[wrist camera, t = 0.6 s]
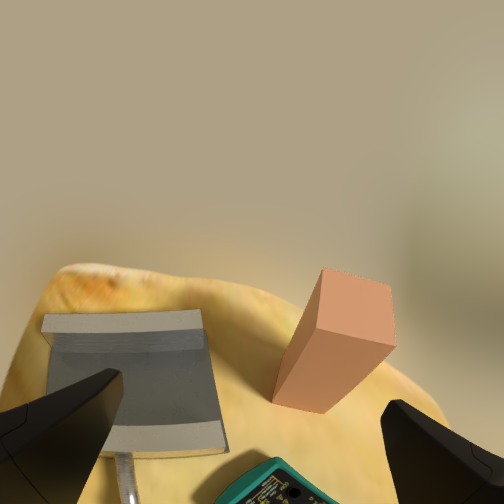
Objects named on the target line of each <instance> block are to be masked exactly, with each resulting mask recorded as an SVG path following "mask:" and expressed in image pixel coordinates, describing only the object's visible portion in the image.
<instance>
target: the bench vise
mask: <svg viewBox="0 0 504 504" xmlns="http://www.w3.org/2000/svg"><path fill="white" fill-rule="evenodd" d="M41 333H42V334H43V336H44V337H45V339H46V340H47V341H48V343H49V344H50V345H51V347H52V351H51V358H50V365H49V373H48V382H47V393H46V395H48V394H50V393H53V392H55V391H57V390H60V389H62V388H64V387H67V386H69V385H71V384H74V383H76V382H78V381H80V380H82V379H85V378H87V377H89V376H91V375H94V374H96V373H98V372H100V371H102V370H104V369H107V368H109V367H111V368H114V369H118V370H120V371H121V372H122V377H123V385H124V394H123V397H122V400H121V403H120V406H119V409H118V411H117V414H116V417H115V420H114V423H113V426H112V429H111V431H110V433H109V436H108V438H107V440H106V442H105V444H104V446H103V448H102V450H101V452H100V454H99V456H98V457H103V458H115V465H116V473H117V480H118V487H119V493H120V499H121V504H141V503H140V498H139V493H138V487H137V481H136V475H135V468H134V461H133V459H172V458H188V457H199V456H209V455H217V454H225V453H229V452H230V450H229V446H228V442H227V438H226V433H225V429H224V424H223V420H222V415H221V410H220V405H219V401H218V396H217V391H216V385H215V380H214V375H213V370H212V364H211V358H210V353H209V347H208V341H207V335H206V330H203V323H202V317H201V310H200V309H194V310H179V311H162V312H142V313H115V314H45V316H44V320H43V324H42V329H41Z"/></svg>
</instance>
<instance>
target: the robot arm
mask: <svg viewBox="0 0 504 504" xmlns="http://www.w3.org/2000/svg"><path fill="white" fill-rule="evenodd" d="M123 394H124V385H123V377H122V372H121V371H120V370H118V369H114V368H111V367H109V368H107V369H104V370H102V371H100V372H98V373H96V374H94V375H91V376H89V377H87V378H85V379H82V380H80V381H78V382H76V383H74V384H71V385H69V386H67V387H64V388H62V389H60V390H57V391H55V392H53V393H50V394H48V395H46V396H43V397H41V398H39V399H36V400H34V401H31V402H29V404H27V403H26V404H24V405H21V406H19V407H16V408H13V409H11V410H8V411H5V412H1V413H0V504H77V502H78V500H79V497H80V495H81V493H82V491H83V488H84V486H85V484H86V482H87V480H88V478H89V475H90V473H91V471H92V469H93V467H94V465H95V463H96V460H97V458H98V456H99V454H100V452H101V450H102V448H103V446H104V444H105V442H106V440H107V438H108V436H109V433H110V431H111V429H112V426H113V423H114V420H115V417H116V414H117V411H118V409H119V406H120V403H121V400H122V397H123ZM380 422H381V428H382V434H383V439H384V445H385V451H386V456H387V460H388V464H389V467H390V471H391V474H392V478H393V482H394V486H395V490H396V494H397V498H398V502H399V504H504V459H503V458H501V457H499V456H497V455H494V454H492V453H490V452H488V451H486V450H484V449H482V448H480V447H479V446H477V445H475V444H473V443H472V442H469V441H468V440H466V439H465V438H463V437H461V436H460V435H458V434H456V433H455V432H453V431H451V430H450V429H448V428H446V427H445V426H443V425H441V424H440V423H438V422H436V421H435V420H433V419H432V418H430V417H428V416H427V415H425V414H424V413H422V412H420V411H419V410H417V409H416V408H414V407H412V406H411V405H409V404H408V403H406V402H405V401H403V400H401V399H397V400H391V401H390V402H389V403H388V405H387V407H386V409H385V410H384V412H383V414H382V416H381V420H380Z"/></svg>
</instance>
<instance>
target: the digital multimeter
mask: <svg viewBox="0 0 504 504" xmlns="http://www.w3.org/2000/svg"><path fill="white" fill-rule="evenodd" d="M289 474H290V475H289ZM214 504H339V503H338V502H336V501H334V500H333V499H331V498H330V497H329V496H327V495H326V494H325V493H323V492H322V491H320V490H319V489H318V488H316V487H315V486H314V485H313V484H311V483H310V482H309V481H307V480H306V479H305V478H304V477H302V476H301V475H300V474H299V473H298V472H296V471H295V470H294V469H293V468H292V467H291V466H290V465H288V464H287V463H286V462H285V461H284V460H283V459H282V458H280V457H273V458H272V459H270V460H268V461H266V462H264V463H263V464H261V465H259V466H257V467H255V468H253V469H252V470H250V471H249V472H247V473H245V474H244V475H242V476H241V477H239V478H238V479H237V480H236V481H235V482H233V483H232V484H231V485H230V486H229V487H228V488H227V489H226V490H225V491H224V492H223V493H222V494H221V495H220V497H219V498H218V499H217V500H216V502H215V503H214Z"/></svg>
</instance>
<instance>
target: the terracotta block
mask: <svg viewBox="0 0 504 504" xmlns="http://www.w3.org/2000/svg"><path fill="white" fill-rule="evenodd" d="M395 347H396V334H395V321H394V312H393V303H392V295H391V288H390V285H386V284H383V283H379V282H375V281H372V280H368V279H365V278H361V277H357V276H354V275H350V274H347V273H343V272H340V271H336V270H333V269H329V268H325V267H323V269H322V271H321V274H320V276H319V278H318V281H317V283H316V286H315V288H314V290H313V293H312V295H311V297H310V299H309V302H308V304H307V306H306V308H305V311H304V313H303V315H302V317H301V319H300V322H299V324H298V326H297V328H296V330H295V332H294V335H293V337H292V339H291V341H290V343H289V345H288V347H287V349H286V351H285V353H284V355H283V357H282V361H281V365H280V370H279V374H278V378H277V382H276V386H275V390H274V394H273V398H272V401H271V403H273V404H277V405H281V406H286V407H290V408H295V409H299V410H304V411H309V412H314V413H320V414H324V413H326V412H327V411H328V410H329V409H331V408H332V407H333V406H334V405H335V404H337V403H338V402H339V401H340V400H341V399H342V398H344V397H345V396H346V395H347V394H348V393H349V392H350V391H351V390H353V389H354V388H355V387H356V386H357V385H358V384H359V383H360V382H361V381H362V380H363V379H365V378H366V377H367V376H368V375H369V374H370V373H371V372H372V371H373V370H374V369H375V368H376V367H377V366H378V365H379V364H380V363H381V362H382V361H383V360H384V359H385V358H386V357H387V356H388V355H389V354H390V353H391V352H392V351H393V349H394V348H395Z"/></svg>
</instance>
